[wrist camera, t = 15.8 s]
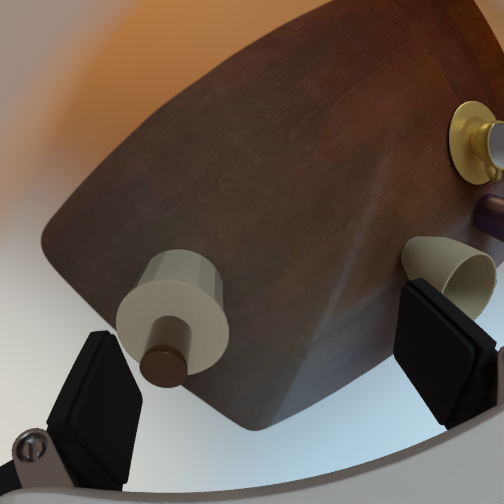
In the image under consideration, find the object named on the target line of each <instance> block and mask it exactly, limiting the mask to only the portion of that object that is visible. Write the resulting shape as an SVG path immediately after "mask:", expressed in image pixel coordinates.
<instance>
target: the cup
mask: <svg viewBox="0 0 504 504" xmlns="http://www.w3.org/2000/svg"><path fill="white" fill-rule="evenodd" d="M449 145H450V152H451V156H452V159H453V162H454V165H455V167H456V169H457V171H458V172H459V174H460V175H461V176H462V177H463V178H464V179H465V180H466V181H468V182H469V183H472V184H475V185H480V184H484V183H486V182H488V181H489V180H492V181H499V180H500V179H501V176H502V170H504V122H503V121H496V119H495V117H494V115H493V114H492V112H491V111H490V110H489V109H488V108H487V107H486V106H485V105H483V104H481V103H479V102H476V101H469V102H466V103H464V104H462V105H461V106H460V107H459V108H458V109H457V111H456V112H455V114H454V116H453V118H452V121H451V125H450V132H449ZM495 173H496V176H494V175H495Z"/></svg>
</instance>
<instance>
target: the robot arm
mask: <svg viewBox="0 0 504 504" xmlns="http://www.w3.org/2000/svg"><path fill="white" fill-rule="evenodd" d="M496 343H497V342H496V341H495V340H493V339H492V338H491V337H490V336H489V335H488V334H487V333H486V332H485V331H484V330H483V329H482V328H480V326H478V325H477V324H476V323H475V322H474V321H473V320H472V319H471V318H470V317H468V316H467V315H466V314H465V313H464V312H463V311H462V310H460V309H459V308H458V307H457V306H456V305H455V304H454V303H452V302H451V301H450V300H449V299H448V298H447V297H445V296H444V295H443V294H442V293H441V292H439V291H438V290H437V289H436V288H435V287H433V286H432V285H431V284H430V283H429V282H427V281H426V280H425V279H423V278H418V279H414V280H409V281H407V282H406V283H405V286H403V287H402V288H401V294H400V303H399V312H398V320H397V328H396V335H395V342H394V348H393V354H394V357H395V359H396V361H397V362H398V364H399V365H400V367H401V368H402V369H403V371H404V372H405V374H406V375H407V377H408V378H409V380H410V381H411V383H412V384H413V385H414V387H415V388H416V390H417V391H418V393H419V394H420V396H421V397H422V399H423V400H424V402H425V403H426V405H427V406H428V407H429V409H430V411H431V412H432V414H433V415H434V417H435V418H436V420H437V421H438V423H439V424H440V425H444V426H445V427H446V429H447V430H448V431H446V432H443V433H441V434H439V435H437V436H435V437H432V438H430V439H428V440H426V441H423V442H421V443H419V444H416V445H414V446H411V447H409V448H406V449H403V450H401V451H398V452H396V453H393V454H390V455H387V456H384V457H381V458H379V459H375V460H372V461H369V462H366V463H363V464H360V465H356V466H353V467H349V468H346V469H342V470H339V471H335V472H331V473H327V474H323V475H319V476H315V477H310V478H306V479H301V480H296V481H290V482H285V483H280V484H273V485H267V486H260V487H253V488H244V489H235V490H226V491H212V492H195V493H194V492H192V493H148V492H147V493H146V492H124V491H122V488H123V484H126V483H127V481H128V477H129V471H130V465H131V460H132V454H133V448H134V443H135V438H136V432H137V427H138V422H139V418H140V413H141V407H142V402H143V399H142V394H141V392H140V390H139V387H138V385H137V384H136V381H135V379H134V377H133V375H132V373H131V371H130V368H129V366H128V364H127V361H126V359H125V357H124V355H123V353H122V350H121V348H120V345H119V343H118V340H117V338H116V336H115V335H114V334H110V332H109V331H107V330H105V331H95V332H91V333H90V334H89V336H88V338H87V340H86V342H85V344H84V346H83V347H82V349H81V351H80V353H79V355H78V357H77V359H76V361H75V363H74V365H73V367H72V369H71V371H70V373H69V375H68V377H67V379H66V381H65V383H64V385H63V387H62V389H61V391H60V394H59V395H58V397H57V400H56V402H55V404H54V406H53V408H52V411H51V413H50V415H49V417H48V419H47V422H46V423H47V425H48V427H47V430H46V431H45V430H43V429H39V428H33V429H29V430H26V431H25V432H23V433H22V434H20V435H19V436H18V438H16V440H15V442H14V444H13V447H12V457H13V460H11V461H9V462H7V463H6V464H4V465H2V466H0V504H504V346H503V347H501V348H500V350H499V351H497V350H496V349H495V346H496Z"/></svg>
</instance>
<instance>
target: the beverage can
mask: <svg viewBox="0 0 504 504" xmlns="http://www.w3.org/2000/svg"><path fill="white" fill-rule="evenodd" d="M474 218H475V223H476V225H477V227H478V229H479V230H480V231H481V232H483V233H485V234H488V235H490V236H492V237H494V238H496V239H498V240H500V241H502V242H504V198H502V197H499V196H496V195H493V194H486V195H484V196H483V197H481V198H480V200H479V201H478V203H477V205H476V208H475V213H474Z"/></svg>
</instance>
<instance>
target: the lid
mask: <svg viewBox="0 0 504 504" xmlns="http://www.w3.org/2000/svg"><path fill="white" fill-rule="evenodd" d="M116 328H117V333H118V336H119V339H120V341H121V343H122V345H123V347H124V348H125V350H126V351H127V352H128V353H129V355H130V356H131V357H132V358H133V359H135V360H136V361H137V362H138V363H140V365H139V368H140V372H141V374H142V375H143V377H144V378H145V379H146V380H147V381H148V382H150V383H151V384H153V385H155V386H158V387H162V388H172V387H177V386H179V385H181V384H182V383H183V382H184V381H185V380H186V378H187V376H188V375H191V374H195V373H199V372H201V371H203V370H205V369H207V368H209V367H211V366H212V365H213V364H215V363H216V362H217V361H218V360H219V359H220V357H221V356H222V355H223V353H224V351H225V349H226V347H227V344H228V340H229V325H228V320H227V317H226V314H225V312H224V310H223V308H222V307H221V305H220V304H219V303H218V301H217V300H216V299H215V298H214V297H213V296H212V295H211V294H209V293H208V292H207V291H205V290H204V289H203V288H201V287H199V286H197V285H195V284H193V283H190V282H187V281H184V280H180V279H173V278H161V279H154V280H150V281H147V282H144V283H142V284H140V285H138V286H136V287H135V288H133V289H132V290H131V291H130V292H129V293H128V294H127V295H126V296H125V298H124V299H123V300H122V302H121V304H120V306H119V308H118V312H117V316H116Z"/></svg>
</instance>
